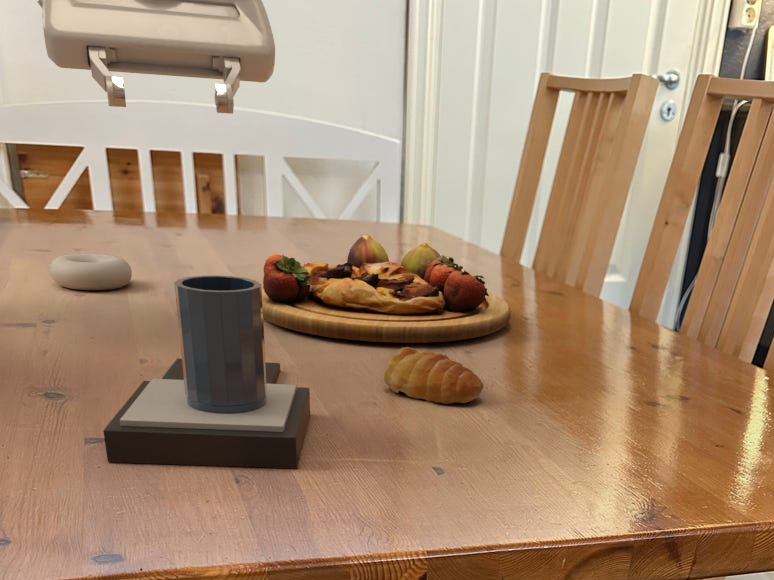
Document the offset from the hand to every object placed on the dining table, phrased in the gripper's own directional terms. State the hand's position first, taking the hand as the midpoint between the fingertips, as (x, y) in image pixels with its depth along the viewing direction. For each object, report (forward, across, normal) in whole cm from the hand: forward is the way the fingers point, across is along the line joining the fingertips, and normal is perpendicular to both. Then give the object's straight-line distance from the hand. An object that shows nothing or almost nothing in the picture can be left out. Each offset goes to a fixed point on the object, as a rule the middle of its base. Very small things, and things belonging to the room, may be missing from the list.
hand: (172, 105), depth 84 cm
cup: (+32, 0, -4) cm, 32 cm away
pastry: (+27, +21, +5) cm, 34 cm away
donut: (-10, -9, +42) cm, 44 cm away
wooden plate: (+4, +24, +28) cm, 37 cm away
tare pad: (+23, +2, +9) cm, 24 cm away
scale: (+34, -1, -2) cm, 34 cm away
